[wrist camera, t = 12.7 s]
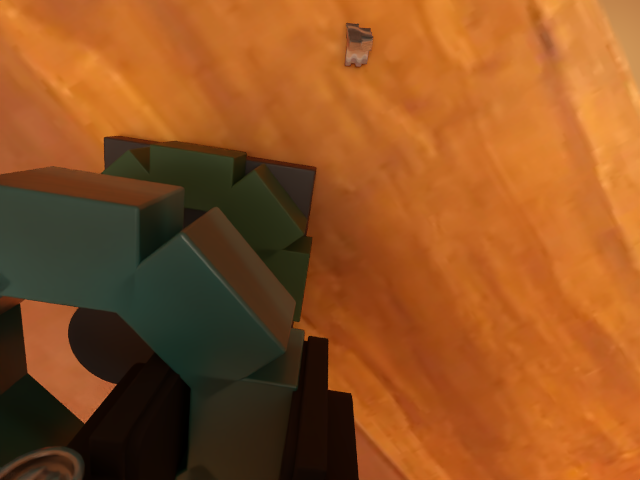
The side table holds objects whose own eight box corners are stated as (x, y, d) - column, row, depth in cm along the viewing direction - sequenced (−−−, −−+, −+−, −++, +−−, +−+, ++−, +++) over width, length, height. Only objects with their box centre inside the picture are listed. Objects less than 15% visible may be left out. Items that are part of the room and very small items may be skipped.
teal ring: (324, 208, 9) (322, 235, 6) (277, 505, 11) (265, 591, 9) (-91, 143, 8) (-232, 149, 6) (-33, 462, 11) (-116, 539, 9)
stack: (324, 161, 17) (319, 199, 9) (296, 342, 20) (273, 494, 12) (111, 127, 16) (-95, 134, 8) (116, 315, 19) (-34, 452, 11)
